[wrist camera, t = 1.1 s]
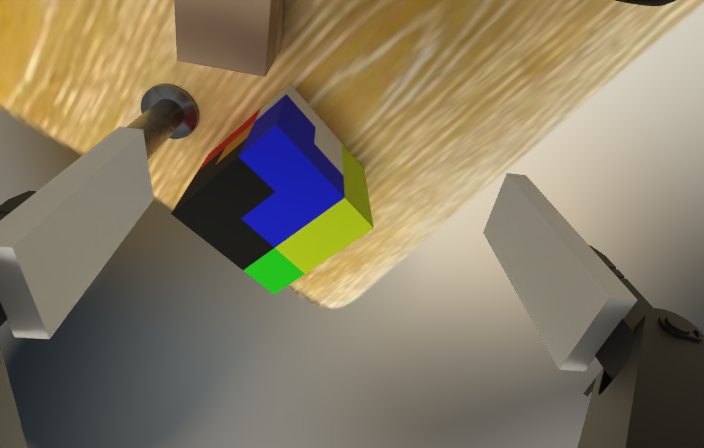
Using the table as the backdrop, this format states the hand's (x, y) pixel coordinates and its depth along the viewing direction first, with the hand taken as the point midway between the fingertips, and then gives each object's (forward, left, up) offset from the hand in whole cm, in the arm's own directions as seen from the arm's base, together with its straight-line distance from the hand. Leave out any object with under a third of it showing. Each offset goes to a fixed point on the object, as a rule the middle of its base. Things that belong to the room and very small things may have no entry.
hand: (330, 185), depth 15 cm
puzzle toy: (+9, -3, -21) cm, 23 cm away
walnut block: (-3, -7, -21) cm, 22 cm away
